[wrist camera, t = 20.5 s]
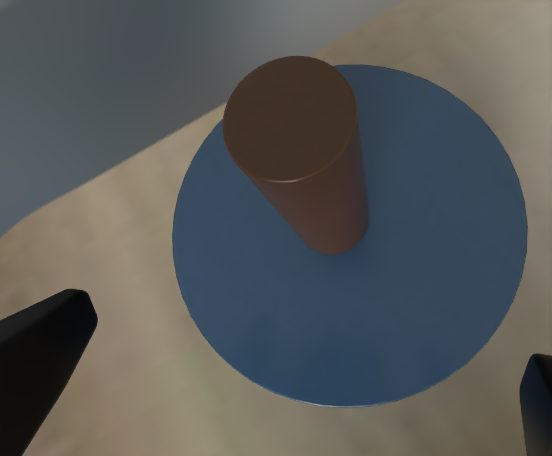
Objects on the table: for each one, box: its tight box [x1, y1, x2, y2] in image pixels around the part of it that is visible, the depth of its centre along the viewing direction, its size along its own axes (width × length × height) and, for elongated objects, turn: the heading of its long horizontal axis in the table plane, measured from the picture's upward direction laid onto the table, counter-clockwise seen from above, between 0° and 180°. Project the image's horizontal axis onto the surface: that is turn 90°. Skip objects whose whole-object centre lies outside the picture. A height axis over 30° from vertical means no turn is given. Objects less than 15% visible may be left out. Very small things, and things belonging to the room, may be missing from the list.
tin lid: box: [172, 56, 528, 408], centre depth 13 cm, size 14×14×10 cm
